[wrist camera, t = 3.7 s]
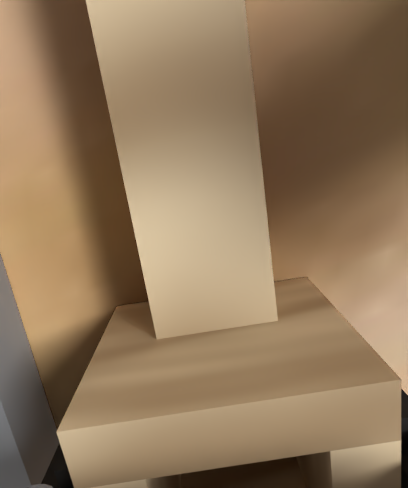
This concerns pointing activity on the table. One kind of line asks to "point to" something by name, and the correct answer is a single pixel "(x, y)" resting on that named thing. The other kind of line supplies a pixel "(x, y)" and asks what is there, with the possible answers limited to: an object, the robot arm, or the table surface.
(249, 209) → the link
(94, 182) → the table surface
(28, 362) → the board
